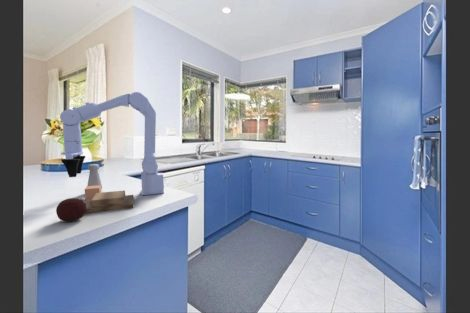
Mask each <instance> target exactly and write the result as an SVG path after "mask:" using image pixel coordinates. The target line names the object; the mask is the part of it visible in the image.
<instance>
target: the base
mask: <svg viewBox="0 0 470 313" xmlns="http://www.w3.org/2000/svg"><path fill="white" fill-rule="evenodd" d="M134 201H135V200H134V194H128V195H127V194H126V190H114V191H113V190H112V191H101V193H96V194H95V196H94V197H93V199H88V200H87V201H85V204H86V213H85V214H86V215H87V214H93V213H94V214H95V213H101V212H102V213H103V212H111V211H112V212H113V211H120V210H129V209H130V210H131V209H134ZM85 214H84V215H85Z"/></svg>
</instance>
